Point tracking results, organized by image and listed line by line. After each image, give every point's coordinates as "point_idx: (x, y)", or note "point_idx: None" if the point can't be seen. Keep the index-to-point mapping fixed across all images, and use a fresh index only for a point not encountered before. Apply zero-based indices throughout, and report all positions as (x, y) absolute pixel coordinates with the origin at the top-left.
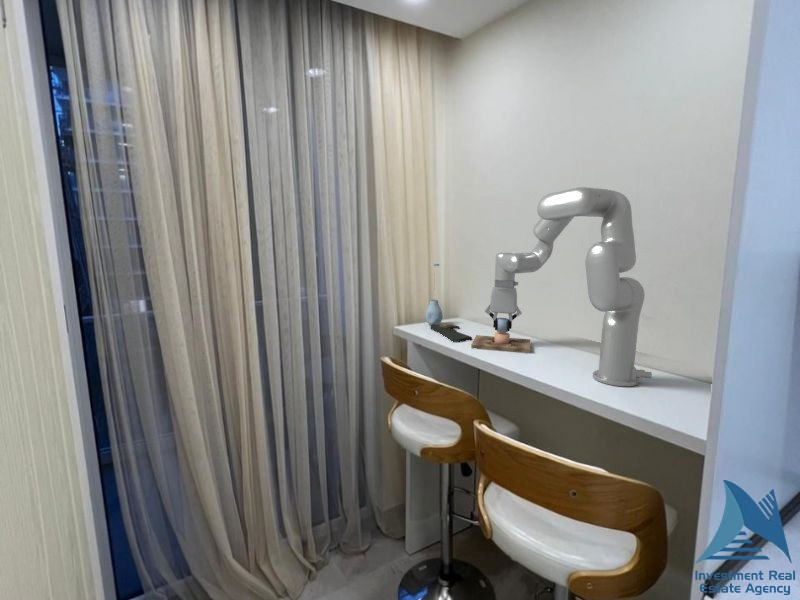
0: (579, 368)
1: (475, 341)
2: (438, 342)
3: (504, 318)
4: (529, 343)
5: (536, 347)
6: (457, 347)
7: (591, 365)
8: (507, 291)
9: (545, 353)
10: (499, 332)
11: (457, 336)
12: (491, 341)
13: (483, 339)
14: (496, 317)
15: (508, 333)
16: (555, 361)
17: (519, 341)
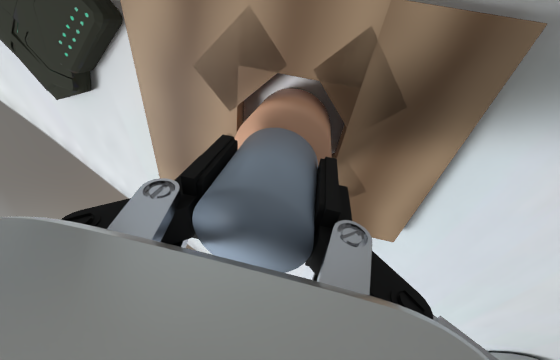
0: (467, 328)
1: (162, 141)
2: (22, 107)
3: (270, 219)
4: (450, 153)
5: (485, 144)
6: (124, 172)
7: (534, 321)
8: None
9: (460, 230)
10: (264, 128)
11: (31, 33)
12: (234, 133)
13: (188, 93)
14: (177, 214)
15: (325, 151)
16: (435, 292)
17: (405, 112)
